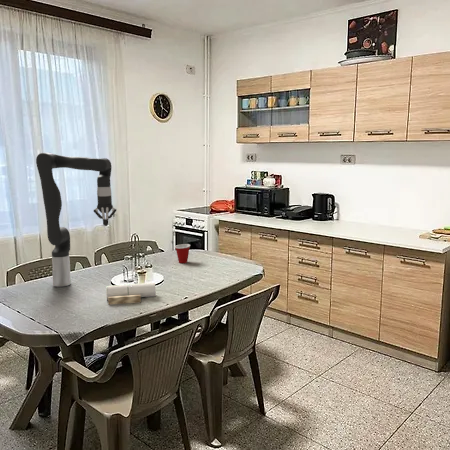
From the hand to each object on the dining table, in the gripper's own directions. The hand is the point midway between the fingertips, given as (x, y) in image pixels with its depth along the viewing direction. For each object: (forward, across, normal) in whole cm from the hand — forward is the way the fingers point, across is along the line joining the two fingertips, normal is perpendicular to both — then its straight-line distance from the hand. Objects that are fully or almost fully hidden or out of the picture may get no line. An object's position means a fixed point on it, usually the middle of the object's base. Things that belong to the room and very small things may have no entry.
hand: (105, 225), depth 247 cm
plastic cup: (+35, -48, -42) cm, 73 cm away
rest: (+35, -9, +24) cm, 43 cm away
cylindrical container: (+31, 0, +23) cm, 39 cm away
